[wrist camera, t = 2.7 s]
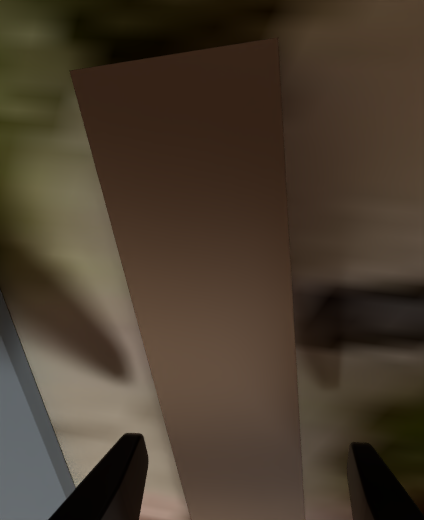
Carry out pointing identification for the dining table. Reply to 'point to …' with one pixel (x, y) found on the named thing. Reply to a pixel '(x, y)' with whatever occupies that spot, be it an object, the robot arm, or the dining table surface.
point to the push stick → (207, 263)
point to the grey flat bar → (26, 438)
